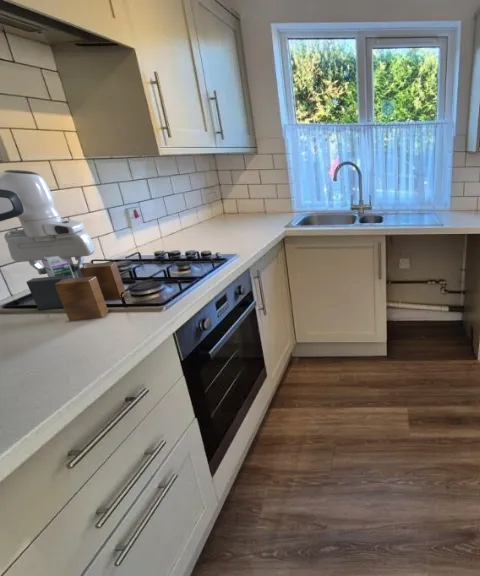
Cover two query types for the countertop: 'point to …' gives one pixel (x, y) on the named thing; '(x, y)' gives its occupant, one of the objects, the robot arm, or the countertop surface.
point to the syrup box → (59, 266)
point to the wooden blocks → (90, 291)
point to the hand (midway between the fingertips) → (62, 271)
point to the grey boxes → (48, 290)
